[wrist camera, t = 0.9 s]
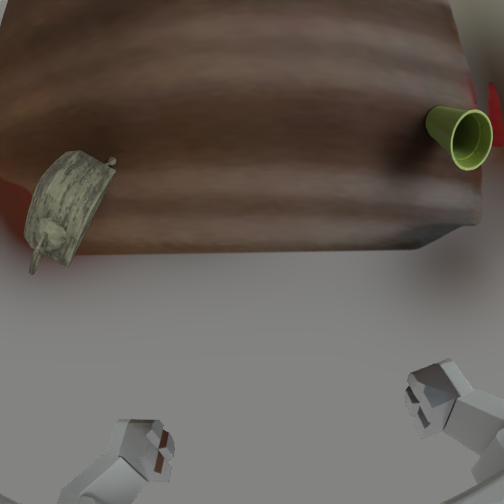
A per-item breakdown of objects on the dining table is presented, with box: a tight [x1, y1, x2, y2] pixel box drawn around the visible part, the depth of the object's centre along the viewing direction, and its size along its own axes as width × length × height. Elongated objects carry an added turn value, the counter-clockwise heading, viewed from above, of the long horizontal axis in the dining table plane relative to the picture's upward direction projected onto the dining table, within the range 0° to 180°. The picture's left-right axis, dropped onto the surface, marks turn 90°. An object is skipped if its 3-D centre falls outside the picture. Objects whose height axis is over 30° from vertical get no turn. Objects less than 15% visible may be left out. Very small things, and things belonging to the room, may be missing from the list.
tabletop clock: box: [24, 151, 116, 275], centre depth 40 cm, size 14×9×25 cm, turn 142°
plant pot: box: [426, 106, 493, 170], centre depth 45 cm, size 12×12×11 cm
